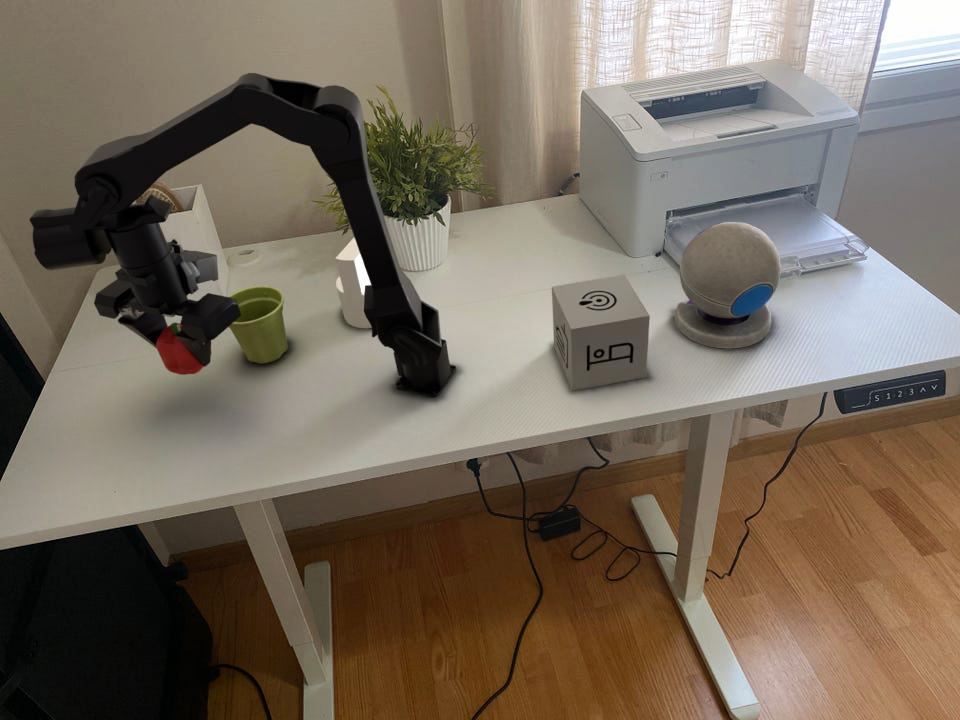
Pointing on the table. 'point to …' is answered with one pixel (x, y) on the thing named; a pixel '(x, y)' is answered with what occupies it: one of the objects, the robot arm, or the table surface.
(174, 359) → the pepper
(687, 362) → the table surface
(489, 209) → the table surface
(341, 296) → the cylinder with rectangular tab
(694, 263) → the webcam
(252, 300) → the plant pot
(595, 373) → the icon cube
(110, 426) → the table surface
